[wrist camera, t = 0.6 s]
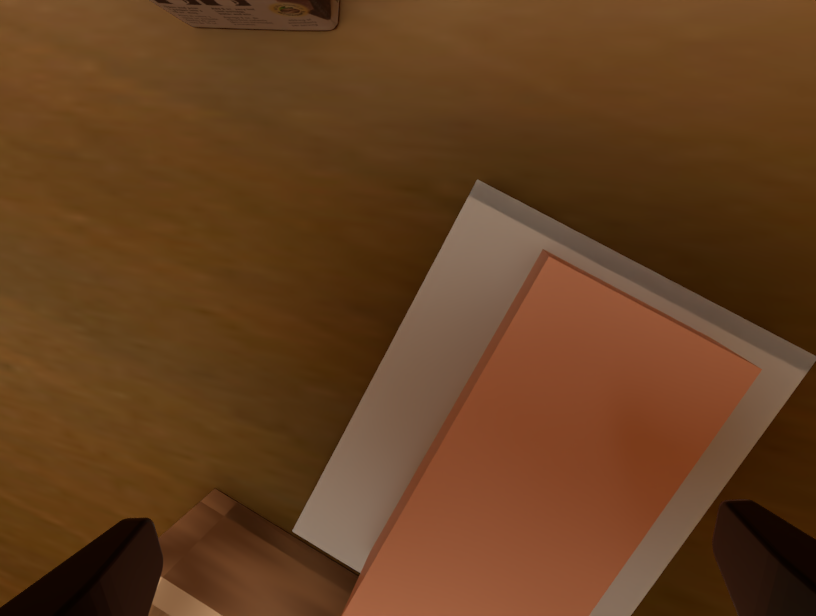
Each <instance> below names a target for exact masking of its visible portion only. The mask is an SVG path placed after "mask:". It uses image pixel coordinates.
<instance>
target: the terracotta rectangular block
mask: <svg viewBox="0 0 816 616" xmlns="http://www.w3.org/2000/svg"><path fill="white" fill-rule="evenodd" d="M761 371H762V369H761V368H759V367H758V366H756V365H754V364H753V363H751V362H749V361H748V360H746V359H745V358H743V357H741V356H740V355H738V354H736V353H735V352H733V351H732V350H730V349H728V348H727V347H725V346H723V345H722V344H720V343H719V342H717V341H715V340H714V339H712V338H710V337H708V336H707V335H705V334H703V333H701V332H699V331H697V330H695V329H693V328H691V327H690V326H688V325H686V324H684V323H682V322H680V321H678V320H676V319H674V318H673V317H671V316H669V315H667V314H665V313H663V312H661V311H659V310H657V309H656V308H654V307H652V306H650V305H648V304H646V303H644V302H642V301H640V300H639V299H637V298H635V297H633V296H631V295H629V294H627V293H625V292H623V291H621V290H620V289H618V288H616V287H614V286H612V285H610V284H608V283H606V282H604V281H603V280H601V279H599V278H597V277H595V276H593V275H591V274H589V273H587V272H586V271H584V270H582V269H580V268H578V267H576V266H574V265H572V264H570V263H569V262H567V261H565V260H563V259H561V258H559V257H557V256H555V255H553V254H552V253H550V252H548V251H546V250H544V249H543V250H542V252H541V253H540V255H539V257H538V259H537V260H536V262H535V264H534V266H533V267H532V269H531V271H530V273H529V274H528V276H527V278H526V280H525V281H524V283H523V285H522V287H521V288H520V290H519V292H518V294H517V295H516V297H515V299H514V301H513V302H512V304H511V306H510V308H509V309H508V311H507V313H506V315H505V316H504V318H503V320H502V322H501V323H500V325H499V327H498V329H497V330H496V332H495V334H494V336H493V337H492V339H491V341H490V343H489V344H488V346H487V348H486V350H485V351H484V353H483V355H482V357H481V358H480V360H479V362H478V364H477V365H476V367H475V369H474V371H473V372H472V374H471V376H470V378H469V379H468V381H467V383H466V385H465V386H464V388H463V390H462V392H461V393H460V395H459V397H458V399H457V400H456V402H455V404H454V406H453V407H452V409H451V411H450V413H449V414H448V416H447V418H446V420H445V421H444V423H443V425H442V427H441V428H440V430H439V432H438V434H437V435H436V437H435V439H434V441H433V442H432V444H431V446H430V448H429V450H428V451H427V453H426V455H425V457H424V458H423V460H422V462H421V464H420V465H419V467H418V469H417V471H416V472H415V474H414V476H413V478H412V479H411V481H410V483H409V485H408V486H407V488H406V490H405V492H404V493H403V495H402V497H401V499H400V500H399V502H398V504H397V506H396V507H395V509H394V511H393V513H392V514H391V516H390V518H389V520H388V521H387V523H386V525H385V527H384V528H383V530H382V532H381V534H380V535H379V537H378V539H377V541H376V542H375V544H374V546H373V548H372V549H371V551H370V553H369V555H368V557H367V560H366V562H365V564H364V566H363V568H362V571H361V573H360V575H359V577H358V579H357V582H356V584H355V586H354V588H353V591H352V593H351V595H350V597H349V599H348V602H347V604H346V606H345V608H344V610H343V613H342V615H341V616H589V615H590V613H591V612H592V610H593V609H594V608H595V606H596V605H597V603H598V602H599V601H600V599H601V598H602V596H603V595H604V593H605V592H606V591H607V589H608V588H609V586H610V585H611V584H612V582H613V581H614V579H615V578H616V576H617V575H618V574H619V572H620V571H621V569H622V568H623V566H624V565H625V564H626V562H627V561H628V559H629V558H630V557H631V555H632V554H633V552H634V551H635V549H636V548H637V547H638V545H639V544H640V542H641V541H642V540H643V538H644V537H645V535H646V534H647V532H648V531H649V530H650V528H651V527H652V525H653V524H654V522H655V521H656V520H657V518H658V517H659V515H660V514H661V513H662V511H663V510H664V508H665V507H666V505H667V504H668V503H669V501H670V500H671V498H672V497H673V496H674V494H675V493H676V491H677V490H678V488H679V487H680V486H681V484H682V483H683V481H684V480H685V478H686V477H687V476H688V474H689V473H690V471H691V470H692V469H693V467H694V466H695V464H696V463H697V461H698V460H699V459H700V457H701V456H702V454H703V453H704V452H705V450H706V449H707V447H708V446H709V444H710V443H711V442H712V440H713V439H714V437H715V436H716V434H717V433H718V432H719V430H720V429H721V427H722V426H723V425H724V423H725V422H726V420H727V419H728V417H729V416H730V415H731V413H732V412H733V410H734V409H735V407H736V406H737V405H738V403H739V402H740V400H741V399H742V398H743V396H744V395H745V393H746V392H747V390H748V389H749V388H750V386H751V385H752V383H753V382H754V381H755V379H756V378H757V376H758V375H759V373H760V372H761Z"/></svg>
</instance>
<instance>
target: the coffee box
mask: <svg viewBox="0 0 816 616" xmlns="http://www.w3.org/2000/svg"><path fill="white" fill-rule="evenodd" d="M150 1H151V2H153V3H155V4H156V5H158V6H159V7H161V8H163V9H164V10H166V11H168V12H169V13H171V14H173V15H174V16H176V17H177V18H179V19H180V20H182V21H183V22H185V23H187V24H189V25H191V26H193V27H210V28H239V29H273V30H332V29H334V28H335V26H336V25H337V24H338V12H339V0H150Z"/></svg>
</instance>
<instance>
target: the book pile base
mask: <svg viewBox="0 0 816 616" xmlns="http://www.w3.org/2000/svg"><path fill="white" fill-rule="evenodd" d="M543 249H544V250H546V251H548V252H550V253H552V254H553V255H555V256H557V257H559V258H561V259H563V260H565V261H567V262H569V263H570V264H572V265H574V266H576V267H578V268H580V269H582V270H584V271H586V272H587V273H589V274H591V275H593V276H595V277H597V278H599V279H601V280H603V281H604V282H606V283H608V284H610V285H612V286H614V287H616V288H618V289H620V290H621V291H623V292H625V293H627V294H629V295H631V296H633V297H635V298H637V299H639V300H640V301H642V302H644V303H646V304H648V305H650V306H652V307H654V308H656V309H657V310H659V311H661V312H663V313H665V314H667V315H669V316H671V317H673V318H674V319H676V320H678V321H680V322H682V323H684V324H686V325H688V326H690V327H691V328H693V329H695V330H697V331H699V332H701V333H703V334H705V335H707V336H708V337H710V338H712V339H714V340H715V341H717V342H719V343H720V344H722V345H723V346H725V347H727V348H728V349H730V350H732V351H733V352H735V353H736V354H738V355H740V356H741V357H743V358H745V359H746V360H748V361H749V362H751V363H753V364H754V365H756V366H758V367H759V368H761V369H762V371H761V372H760V373H759V375H758V376H757V378H756V379H755V381H754V382H753V383H752V385H751V386H750V388H749V389H748V390H747V392H746V393H745V395H744V396H743V398H742V399H741V400H740V402H739V403H738V405H737V406H736V407H735V409H734V410H733V412H732V413H731V415H730V416H729V417H728V419H727V420H726V422H725V423H724V425H723V426H722V427H721V429H720V430H719V432H718V433H717V434H716V436H715V437H714V439H713V440H712V442H711V443H710V444H709V446H708V447H707V449H706V450H705V452H704V453H703V454H702V456H701V457H700V459H699V460H698V461H697V463H696V464H695V466H694V467H693V469H692V470H691V471H690V473H689V474H688V476H687V477H686V478H685V480H684V481H683V483H682V484H681V486H680V487H679V488H678V490H677V491H676V493H675V494H674V496H673V497H672V498H671V500H670V501H669V503H668V504H667V505H666V507H665V508H664V510H663V511H662V513H661V514H660V515H659V517H658V518H657V520H656V521H655V522H654V524H653V525H652V527H651V528H650V530H649V531H648V532H647V534H646V535H645V537H644V538H643V540H642V541H641V542H640V544H639V545H638V547H637V548H636V549H635V551H634V552H633V554H632V555H631V557H630V558H629V559H628V561H627V562H626V564H625V565H624V566H623V568H622V569H621V571H620V572H619V574H618V575H617V576H616V578H615V579H614V581H613V582H612V584H611V585H610V586H609V588H608V589H607V591H606V592H605V593H604V595H603V596H602V598H601V599H600V601H599V602H598V603H597V605H596V606H595V608H594V609H593V610H592V612H591V613H590V615H589V616H631V615H632V613H633V612H634V610H635V609H636V608H637V606H638V605H639V604H640V602H641V601H642V599H643V598H644V597H645V595H646V594H647V593H648V591H649V590H650V588H651V587H652V586H653V584H654V583H655V582H656V580H657V579H658V577H659V576H660V575H661V573H662V572H663V571H664V569H665V568H666V566H667V565H668V564H669V562H670V561H671V560H672V558H673V557H674V555H675V554H676V553H677V551H678V550H679V548H680V547H681V546H682V544H683V543H684V542H685V540H686V539H687V537H688V536H689V535H690V533H691V532H692V531H693V529H694V528H695V526H696V525H697V524H698V522H699V521H700V520H701V518H702V517H703V515H704V514H705V513H706V511H707V510H708V509H709V507H710V506H711V504H712V503H713V502H714V500H715V499H716V498H717V496H718V495H719V493H720V492H721V491H722V489H723V488H724V487H725V485H726V484H727V482H728V481H729V480H730V478H731V477H732V476H733V474H734V473H735V471H736V470H737V469H738V467H739V466H740V465H741V463H742V462H743V460H744V459H745V458H746V456H747V455H748V453H749V452H750V451H751V449H752V448H753V447H754V445H755V444H756V442H757V441H758V440H759V438H760V437H761V436H762V434H763V433H764V431H765V430H766V429H767V427H768V426H769V425H770V423H771V422H772V420H773V419H774V418H775V416H776V415H777V414H778V412H779V411H780V409H781V408H782V407H783V405H784V404H785V403H786V401H787V400H788V398H789V397H790V396H791V394H792V393H793V392H794V390H795V389H796V387H797V386H798V385H799V383H800V382H801V381H802V379H803V378H804V376H805V375H806V374H807V372H808V371H809V370H810V368H811V367H812V365H813V364H814V363H815V361H816V356H815V355H813V354H811V353H809V352H807V351H805V350H803V349H801V348H799V347H797V346H795V345H794V344H792V343H790V342H788V341H786V340H784V339H782V338H780V337H778V336H776V335H774V334H772V333H771V332H769V331H767V330H765V329H763V328H761V327H759V326H757V325H755V324H753V323H751V322H749V321H748V320H746V319H744V318H742V317H740V316H738V315H736V314H734V313H732V312H730V311H728V310H727V309H725V308H723V307H721V306H719V305H717V304H715V303H713V302H711V301H709V300H707V299H705V298H704V297H702V296H700V295H698V294H696V293H694V292H692V291H690V290H688V289H686V288H684V287H682V286H681V285H679V284H677V283H675V282H673V281H671V280H669V279H667V278H665V277H663V276H661V275H659V274H658V273H656V272H654V271H652V270H650V269H648V268H646V267H644V266H642V265H640V264H638V263H636V262H635V261H633V260H631V259H629V258H627V257H625V256H623V255H621V254H619V253H617V252H615V251H614V250H612V249H610V248H608V247H606V246H604V245H602V244H600V243H598V242H596V241H594V240H592V239H591V238H589V237H587V236H585V235H583V234H581V233H579V232H577V231H575V230H573V229H571V228H569V227H568V226H566V225H564V224H562V223H560V222H558V221H556V220H554V219H552V218H550V217H548V216H546V215H545V214H543V213H541V212H539V211H537V210H535V209H533V208H531V207H529V206H527V205H525V204H523V203H522V202H520V201H518V200H516V199H514V198H512V197H510V196H508V195H506V194H504V193H502V192H500V191H499V190H497V189H495V188H493V187H491V186H489V185H487V184H485V183H483V182H481V181H479V180H478V179H477V181H476V183H475V185H474V187H473V189H472V190H471V192H470V194H469V196H468V198H467V200H466V202H465V204H464V206H463V208H462V209H461V211H460V213H459V215H458V217H457V219H456V221H455V223H454V225H453V227H452V228H451V230H450V232H449V234H448V236H447V238H446V240H445V242H444V244H443V246H442V247H441V249H440V251H439V253H438V255H437V257H436V259H435V261H434V263H433V265H432V266H431V268H430V270H429V272H428V274H427V276H426V278H425V280H424V282H423V284H422V285H421V287H420V289H419V291H418V293H417V295H416V297H415V299H414V301H413V303H412V304H411V306H410V308H409V310H408V312H407V314H406V316H405V318H404V320H403V322H402V323H401V325H400V327H399V329H398V331H397V333H396V335H395V337H394V339H393V341H392V342H391V344H390V346H389V348H388V350H387V352H386V354H385V356H384V358H383V360H382V361H381V363H380V365H379V367H378V369H377V371H376V373H375V375H374V377H373V379H372V380H371V382H370V384H369V386H368V388H367V390H366V392H365V394H364V396H363V398H362V399H361V401H360V403H359V405H358V407H357V409H356V411H355V413H354V415H353V417H352V418H351V420H350V422H349V424H348V426H347V428H346V430H345V432H344V434H343V436H342V437H341V439H340V441H339V443H338V445H337V447H336V449H335V451H334V453H333V455H332V456H331V458H330V460H329V462H328V464H327V466H326V468H325V470H324V472H323V474H322V475H321V477H320V479H319V481H318V483H317V485H316V487H315V489H314V491H313V493H312V494H311V496H310V498H309V500H308V502H307V504H306V506H305V508H304V510H303V512H302V513H301V515H300V517H299V519H298V521H297V523H296V525H295V527H294V529H293V531H292V532H294V533H296V534H297V535H299V536H300V537H302V538H304V539H305V540H307V541H309V542H310V543H312V544H314V545H315V546H317V547H318V548H320V549H322V550H323V551H325V552H327V553H328V554H330V555H332V556H333V557H335V558H336V559H338V560H340V561H341V562H343V563H345V564H346V565H348V566H350V567H351V568H353V569H354V570H356V571H358V572H359V573H361V571H362V568H363V566H364V564H365V562H366V560H367V557H368V555H369V553H370V551H371V549H372V548H373V546H374V544H375V542H376V541H377V539H378V537H379V535H380V534H381V532H382V530H383V528H384V527H385V525H386V523H387V521H388V520H389V518H390V516H391V514H392V513H393V511H394V509H395V507H396V506H397V504H398V502H399V500H400V499H401V497H402V495H403V493H404V492H405V490H406V488H407V486H408V485H409V483H410V481H411V479H412V478H413V476H414V474H415V472H416V471H417V469H418V467H419V465H420V464H421V462H422V460H423V458H424V457H425V455H426V453H427V451H428V450H429V448H430V446H431V444H432V442H433V441H434V439H435V437H436V435H437V434H438V432H439V430H440V428H441V427H442V425H443V423H444V421H445V420H446V418H447V416H448V414H449V413H450V411H451V409H452V407H453V406H454V404H455V402H456V400H457V399H458V397H459V395H460V393H461V392H462V390H463V388H464V386H465V385H466V383H467V381H468V379H469V378H470V376H471V374H472V372H473V371H474V369H475V367H476V365H477V364H478V362H479V360H480V358H481V357H482V355H483V353H484V351H485V350H486V348H487V346H488V344H489V343H490V341H491V339H492V337H493V336H494V334H495V332H496V330H497V329H498V327H499V325H500V323H501V322H502V320H503V318H504V316H505V315H506V313H507V311H508V309H509V308H510V306H511V304H512V302H513V301H514V299H515V297H516V295H517V294H518V292H519V290H520V288H521V287H522V285H523V283H524V281H525V280H526V278H527V276H528V274H529V273H530V271H531V269H532V267H533V266H534V264H535V262H536V260H537V259H538V257H539V255H540V253H541V252H542V250H543Z"/></svg>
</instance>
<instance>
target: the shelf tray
mask: <svg viewBox="0 0 816 616" xmlns="http://www.w3.org/2000/svg"><path fill="white" fill-rule="evenodd" d="M158 540H159V543H160V547H161V550H162V553H163V570H162V574H161V577H160V580H159V583H158V586H157V590H156V593H155V596H154V599H153V602H152V606H151V609H150V612H149V615H148V616H341V615H342V613H343V610H344V608H345V606H346V604H347V602H348V599H349V597H350V595H351V593H352V591H353V588H354V586H355V584H356V582H357V579H358V577H359V576H357V575H355V574H354V573H352V572H351V571H349V570H347V569H346V568H344V567H342V566H341V565H339V564H337V563H336V562H334V561H333V560H331V559H329V558H328V557H326V556H324V555H323V554H321V553H320V552H318V551H316V550H315V549H313V548H311V547H310V546H308V545H306V544H305V543H303V542H302V541H300V540H298V539H297V538H295V537H293V536H292V535H290V534H289V533H287V532H285V531H284V530H282V529H280V528H279V527H277V526H275V525H274V524H272V523H271V522H269V521H267V520H266V519H264V518H262V517H261V516H259V515H257V514H256V513H254V512H253V511H251V510H249V509H248V508H246V507H244V506H243V505H241V504H240V503H238V502H236V501H235V500H233V499H231V498H230V497H228V496H226V495H225V494H223V493H222V492H220V491H218V490H217V489H214V490H213V491H212V492H210V493H209V494H208V495H207V496H206V497H205V498H204V499H202V500H201V501H200V502H199V503H198V504H197V505H196V506H194V507H193V508H192V509H191V510H190V511H189V512H188V513H187V514H185V515H184V516H183V517H182V518H181V519H180V520H179V521H177V522H176V523H175V524H174V525H173V526H172V527H171V528H169V529H168V530H167V531H166V532H165V533H164V534H163V535H161V536H160V537H159V538H158Z"/></svg>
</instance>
